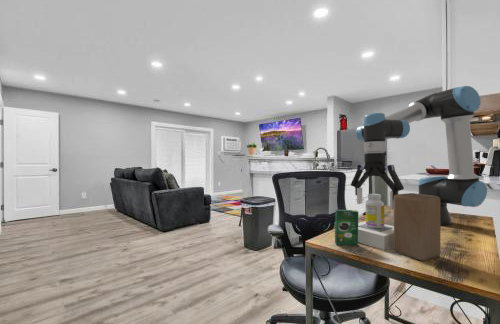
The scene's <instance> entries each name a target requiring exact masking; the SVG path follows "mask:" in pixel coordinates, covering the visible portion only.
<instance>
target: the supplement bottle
mask: <svg viewBox="0 0 500 324" xmlns="http://www.w3.org/2000/svg"><path fill="white" fill-rule="evenodd" d="M367 197H368V200H366V201H365V221H366V226H368V227H370V228H383V227H384V224H385V202H383V200H382V194H379V193H368V194H367Z"/></svg>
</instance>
